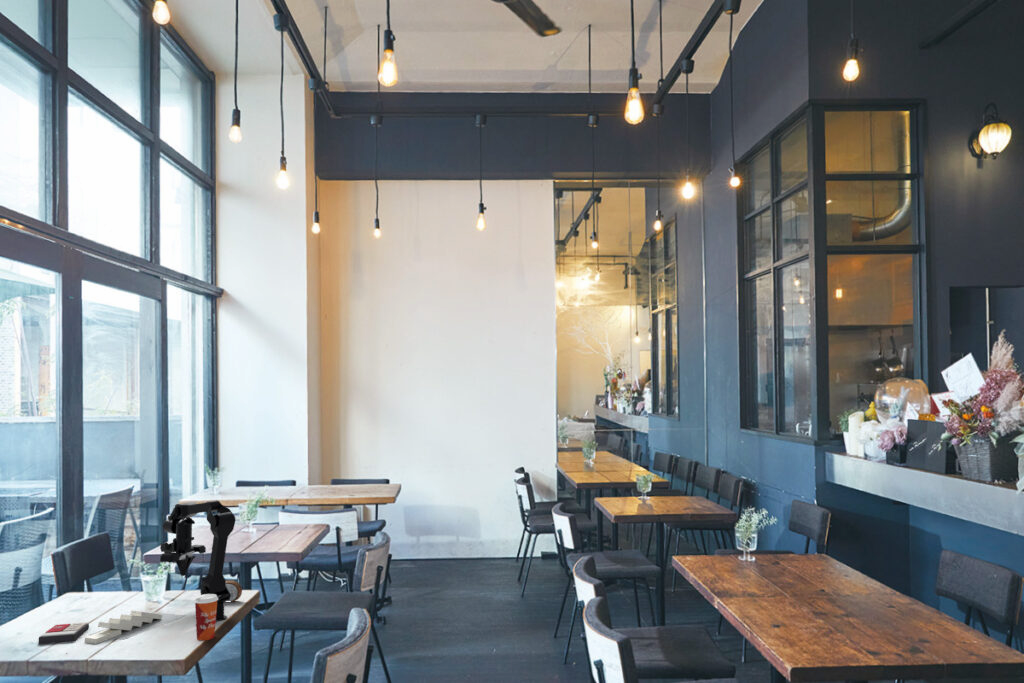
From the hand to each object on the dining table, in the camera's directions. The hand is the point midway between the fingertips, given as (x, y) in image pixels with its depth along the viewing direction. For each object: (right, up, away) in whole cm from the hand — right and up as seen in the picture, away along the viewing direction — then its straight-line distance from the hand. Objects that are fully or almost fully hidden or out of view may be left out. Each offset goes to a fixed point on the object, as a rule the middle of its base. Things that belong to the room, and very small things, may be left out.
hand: (183, 575), depth 283 cm
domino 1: (-9, -9, -32) cm, 34 cm away
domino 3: (-6, -10, -23) cm, 26 cm away
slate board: (-6, -12, -22) cm, 26 cm away
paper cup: (+24, -10, -35) cm, 43 cm away
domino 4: (-5, -10, -19) cm, 22 cm away
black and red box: (-26, -12, -33) cm, 44 cm away
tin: (+12, -14, +10) cm, 21 cm away
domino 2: (-8, -9, -28) cm, 30 cm away
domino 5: (-3, -10, -15) cm, 18 cm away
